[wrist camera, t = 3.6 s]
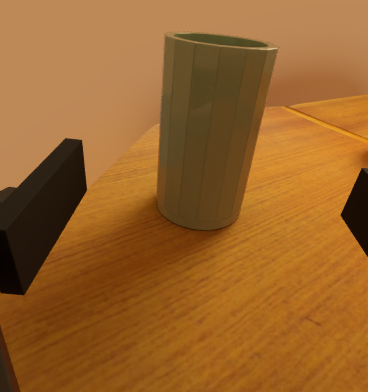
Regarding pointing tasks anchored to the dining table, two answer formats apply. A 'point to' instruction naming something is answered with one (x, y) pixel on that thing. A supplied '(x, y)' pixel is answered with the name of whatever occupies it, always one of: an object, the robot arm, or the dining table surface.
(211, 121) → the cup
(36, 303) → the dining table surface
